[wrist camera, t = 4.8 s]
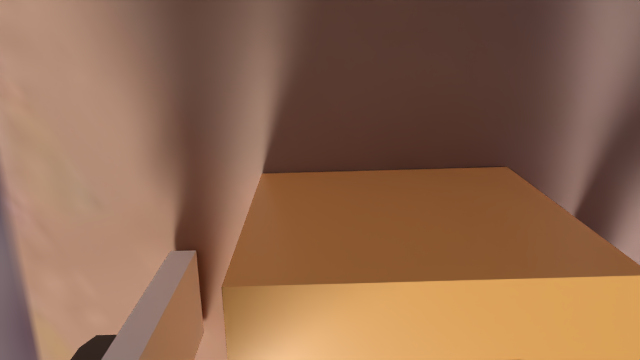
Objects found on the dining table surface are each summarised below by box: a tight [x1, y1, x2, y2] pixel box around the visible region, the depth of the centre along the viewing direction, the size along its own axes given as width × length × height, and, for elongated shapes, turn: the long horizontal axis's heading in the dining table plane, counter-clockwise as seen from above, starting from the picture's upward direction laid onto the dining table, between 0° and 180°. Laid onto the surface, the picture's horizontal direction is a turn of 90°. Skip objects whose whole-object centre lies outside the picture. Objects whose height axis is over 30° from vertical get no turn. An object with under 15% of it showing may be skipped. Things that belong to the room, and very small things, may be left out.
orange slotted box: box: [222, 167, 640, 360], centre depth 13 cm, size 7×7×7 cm
